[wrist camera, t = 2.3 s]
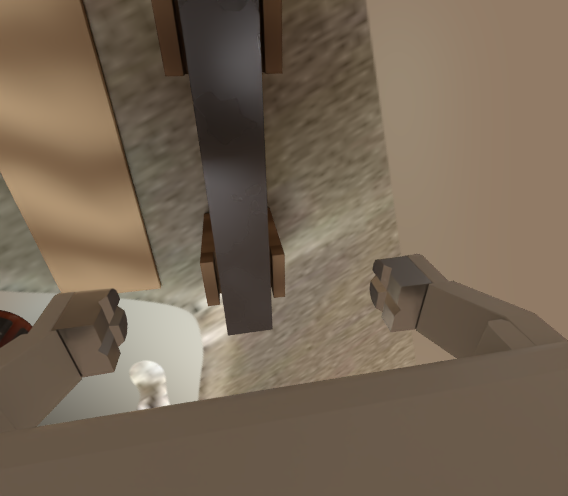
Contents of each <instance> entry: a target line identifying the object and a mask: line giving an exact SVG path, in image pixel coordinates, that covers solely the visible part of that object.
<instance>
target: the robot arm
mask: <svg viewBox="0 0 568 496" xmlns="http://www.w3.org/2000/svg"><path fill="white" fill-rule="evenodd" d="M373 272H374V273H375V274H376V275H375V277H374V278H373V279H372V280H371V283H370V295H371V299H372V302H373V304H374V306H375V307H376V308H377V309H379V310H380V311H382V312H383V313H382V319H383V320H384V322H385V323H386V325H387V327H388V328H389V330H390V331H391V332H396V331H404V330H413V329H416V331H418V332H419V333H421V334H422V335H424V336H425V337H426V338H428V339H429V340H431V341H432V342H434V343H435V344H437V345H438V346H440V347H441V348H442V349H444V350H445V351H447V352H448V353H450V354H451V355H453V356H454V357H456V358H457V359H453V360H447V361H440V362H434V363H428V364H422V365H416V366H410V367H404V368H398V369H391V370H385V371H379V372H373V373H366V374H360V375H354V376H348V377H341V378H335V379H329V380H323V381H316V382H310V383H304V384H298V385H292V386H285V387H279V388H273V389H267V390H261V391H255V392H249V393H242V394H236V395H230V396H224V397H218V398H212V399H205V400H199V401H194V402H187V403H181V404H175V405H168V406H162V407H156V408H150V409H144V410H137V411H131V412H126V413H119V414H113V415H107V416H100V417H95V418H88V419H82V420H76V421H70V422H63V423H57V424H51V425H45V426H39V427H37V425H38V424H39V423H40V422H41V421H42V420H43V419H44V418H45V417H46V416H47V415H48V414H49V413H50V412H51V411H52V410H53V409H54V408H55V407H56V406H57V405H58V404H59V402H60V401H61V400H62V399H63V398H64V397H65V396H66V395H67V394H68V393H69V392H70V391H71V390H72V389H73V388H74V387H75V386H76V385H77V384H78V383H79V382H80V381H81V380H82V377H88V376H93V375H99V374H105V373H111V372H114V371H115V368H116V365H117V362H118V359H119V356H120V354H121V353H120V350H119V348H118V347H119V346H120V345H121V344H122V343H123V342H124V341H125V338H126V335H127V318H126V314H125V311H124V310H123V309H121V308H120V307H118V306H117V305H118V303H119V300H120V298H119V295H118V293H117V291H116V290H115V289H113V288H110V289H99V290H88V291H78V292H67V293H59V294H57V295H55V296H54V297H53V298H52V300H51V301H50V303H49V304H48V306H47V307H46V308H45V310H44V311H43V313H42V314H41V316H40V317H39V319H38V320H37V321H36V323H35V324H34V326H33V327H32V328H31V330H30V331H29V333H28V334H22V335H20V336H18V337H17V338H15V339H14V340H12V341H11V342H9V343H7V344H6V345H4V346H3V347H1V348H0V496H568V340H567V339H565V338H564V337H563V336H562V335H561V334H559V333H558V332H557V331H555V330H554V329H553V328H552V327H551V326H550V325H548V324H547V323H546V322H545V321H543V320H542V319H541V318H540V317H539V316H537V315H536V314H535V313H532V312H530V311H527V310H525V309H523V308H520V307H517V306H515V305H512V304H510V303H507V302H505V301H502V300H500V299H497V298H495V297H492V296H490V295H487V294H485V293H482V292H480V291H477V290H475V289H472V288H470V287H467V286H465V285H462V284H460V283H457V282H454V281H448V280H447V279H446V278H445V277H444V276H443V275H442V274H441V273H440V272H439V271H438V270H437V269H436V268H435V267H434V266H433V265H432V264H431V263H429V261H428V260H426V258H424V256H422V255H420V254H414V255H407V256H402V257H394V258H386V259H377V260H375V262H374V264H373Z"/></svg>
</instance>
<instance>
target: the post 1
mask: <svg viewBox="0 0 568 496" xmlns="http://www.w3.org/2000/svg"><path fill="white" fill-rule="evenodd" d="M151 1H152V7H153V12H154V18H155V23H156V28H157V34H158V39H159V45H160V50H161V55H162V61H163V66H164V72H165V76H184V75H185V74H189V72H188V65H187V58H186V52H185V45H184V38H183V32H182V25H181V18H180V12H179V5H178V0H151ZM259 22H260V45H261V69H262V72H264V73H265V74H277V73H282V0H259Z"/></svg>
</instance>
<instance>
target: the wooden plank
mask: <svg viewBox="0 0 568 496" xmlns="http://www.w3.org/2000/svg"><path fill="white" fill-rule="evenodd" d="M0 172H1V174H2V176H3V178H4V180H5V182H6V184H7V186H8V188H9V190H10V192H11V194H12V196H13V198H14V200H15V202H16V204H17V206H18V208H19V210H20V212H21V214H22V216H23V218H24V220H25V222H26V224H27V226H28V228H29V230H30V232H31V234H32V236H33V238H34V240H35V241H36V243H37V245H38V247H39V249H40V251H41V253H42V255H43V257H44V259H45V261H46V263H47V265H48V267H49V269H50V271H51V273H52V275H53V277H54V279H55V281H56V283H57V285H58V287H59V289H60V291H61V293H67V292H78V291H88V290H99V289H110V288H113V289H115V290H116V291H117V293H124V292H132V291H141V290H150V289H158V288H161V283H160V279H159V276H158V272H157V268H156V265H155V261H154V258H153V254H152V250H151V247H150V243H149V240H148V236H147V233H146V229H145V225H144V222H143V218H142V215H141V211H140V207H139V204H138V200H137V197H136V193H135V189H134V186H133V182H132V179H131V175H130V171H129V168H128V164H127V161H126V157H125V153H124V150H123V146H122V143H121V139H120V135H119V132H118V128H117V125H116V121H115V117H114V114H113V110H112V107H111V103H110V99H109V96H108V92H107V89H106V85H105V81H104V78H103V74H102V71H101V67H100V64H99V60H98V56H97V53H96V49H95V46H94V42H93V38H92V35H91V31H90V28H89V24H88V20H87V17H86V13H85V10H84V6H83V2H82V0H0Z"/></svg>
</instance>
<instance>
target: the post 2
mask: <svg viewBox="0 0 568 496" xmlns="http://www.w3.org/2000/svg"><path fill="white" fill-rule="evenodd" d="M267 211H268V235H269V259H270V283H271V287H272V292H273V296H274V298H277V297H285V255H284V251H283V248H282V245H281V242H280V239H279V236H278V233H277V230H276V227H275V224H274V220H273V217H272V214H271V211H270V208H267ZM200 266H201V271H202V276H203V282H204V287H205V293H206V298H207V303H208V306H213V305H220V293H222V292H221V285H220V278H219V272H218V265H217V258H216V252H215V245H214V238H213V232H212V225H211V218H210V213H205V214H204V221H203V234H202V246H201V258H200Z"/></svg>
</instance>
